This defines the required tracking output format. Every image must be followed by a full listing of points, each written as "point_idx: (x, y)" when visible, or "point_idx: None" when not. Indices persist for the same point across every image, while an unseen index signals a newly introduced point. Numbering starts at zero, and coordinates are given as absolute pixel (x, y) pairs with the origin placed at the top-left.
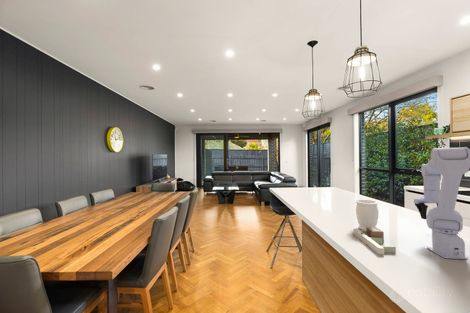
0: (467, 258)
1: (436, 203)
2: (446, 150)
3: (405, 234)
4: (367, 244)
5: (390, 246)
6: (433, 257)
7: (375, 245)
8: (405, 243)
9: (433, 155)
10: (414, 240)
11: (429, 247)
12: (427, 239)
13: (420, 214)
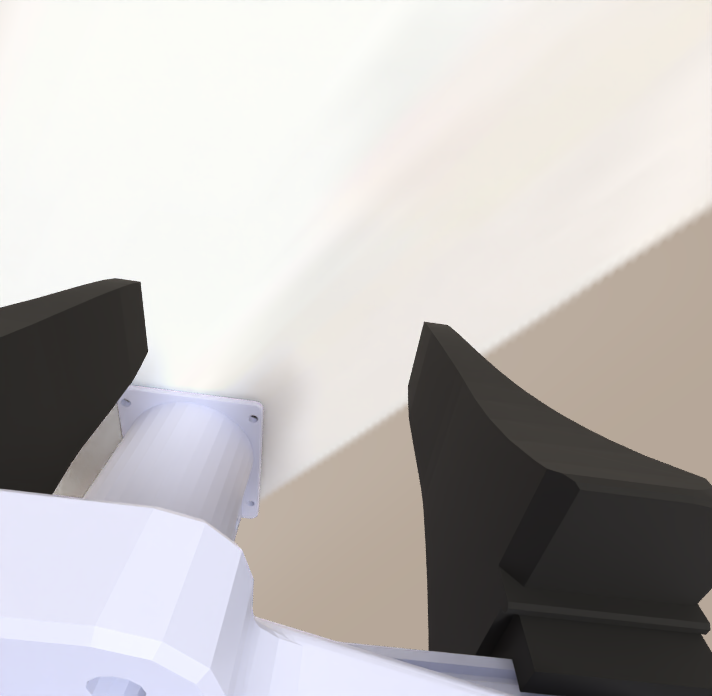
0: (255, 515)
1: (545, 481)
2: None
3: (127, 4)
4: None
5: None
6: (84, 479)
7: None
8: (2, 278)
9: None
10: (125, 218)
11: (135, 393)
12: (275, 206)
13: (61, 299)
